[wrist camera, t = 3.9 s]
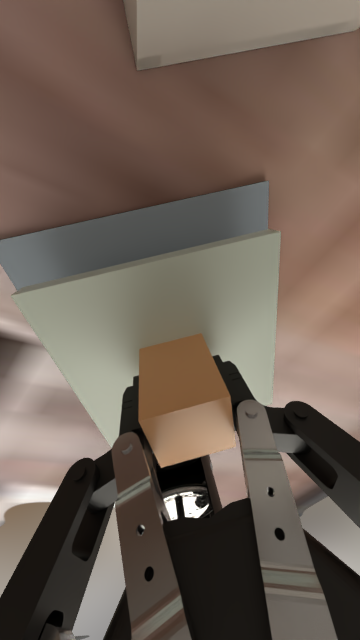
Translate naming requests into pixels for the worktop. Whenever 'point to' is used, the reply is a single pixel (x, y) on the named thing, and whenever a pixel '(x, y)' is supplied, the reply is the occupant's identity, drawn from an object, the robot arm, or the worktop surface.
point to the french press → (189, 488)
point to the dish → (228, 26)
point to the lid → (166, 338)
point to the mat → (134, 235)
